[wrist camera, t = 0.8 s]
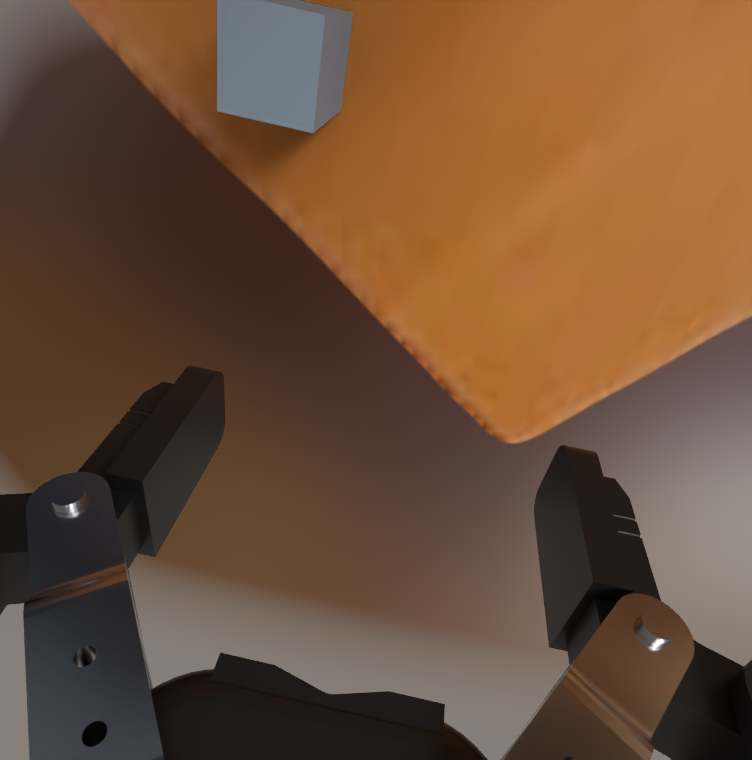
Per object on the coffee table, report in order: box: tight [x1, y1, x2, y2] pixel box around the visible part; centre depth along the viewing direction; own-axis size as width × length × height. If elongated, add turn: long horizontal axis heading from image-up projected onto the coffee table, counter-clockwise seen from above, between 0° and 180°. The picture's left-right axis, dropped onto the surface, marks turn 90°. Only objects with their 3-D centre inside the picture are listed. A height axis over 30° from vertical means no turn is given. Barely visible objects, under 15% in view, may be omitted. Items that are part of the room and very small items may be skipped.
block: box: [217, 0, 353, 133], centre depth 28 cm, size 5×5×7 cm
